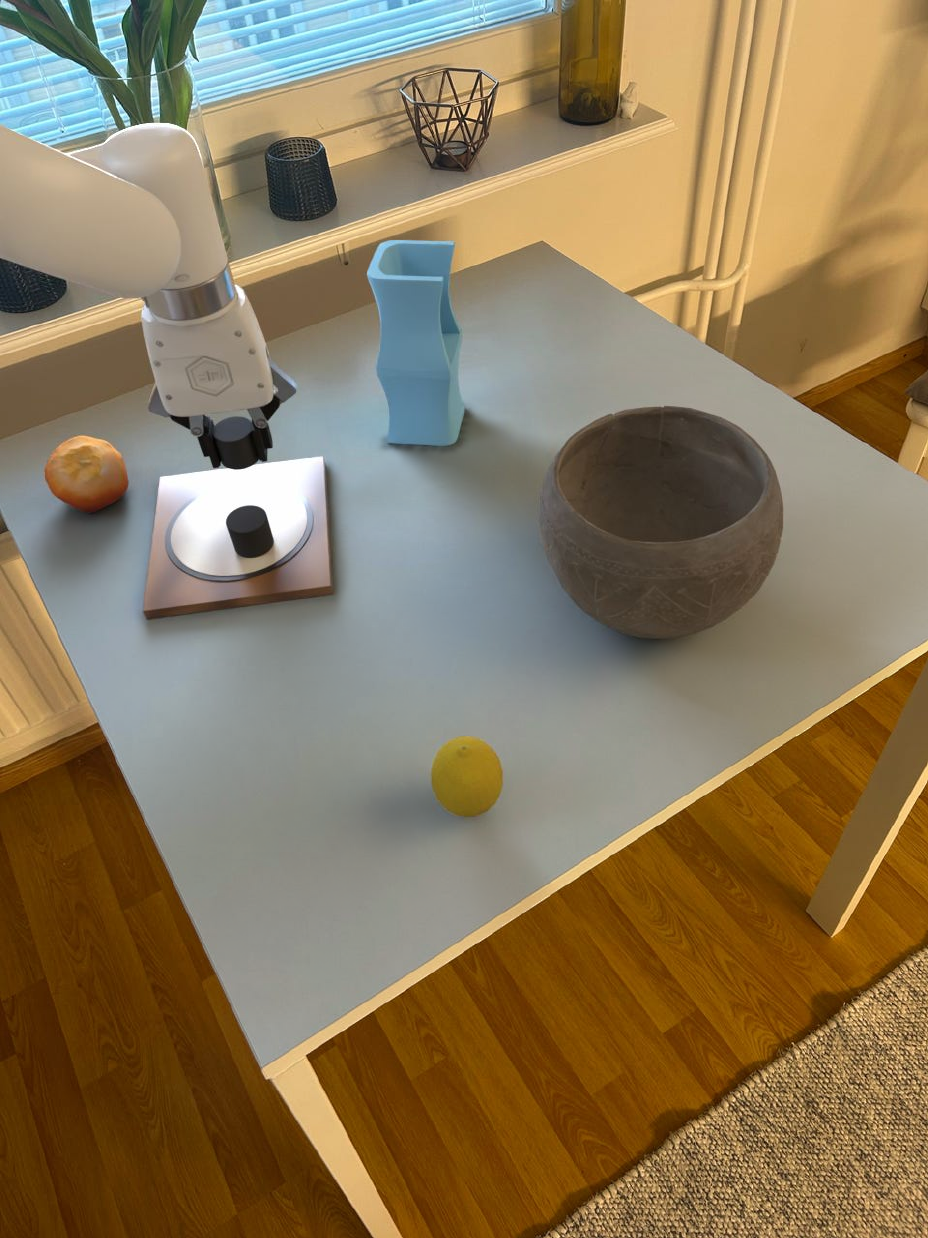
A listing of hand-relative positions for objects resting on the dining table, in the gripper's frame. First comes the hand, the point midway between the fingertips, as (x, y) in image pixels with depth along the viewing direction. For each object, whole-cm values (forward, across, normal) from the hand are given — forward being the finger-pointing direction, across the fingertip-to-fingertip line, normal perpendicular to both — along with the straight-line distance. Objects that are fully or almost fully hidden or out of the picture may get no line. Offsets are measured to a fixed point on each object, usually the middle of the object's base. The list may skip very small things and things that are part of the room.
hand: (240, 454), depth 93 cm
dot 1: (0, 0, 0) cm, 0 cm away
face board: (+8, -2, -3) cm, 9 cm away
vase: (+8, +19, +12) cm, 24 cm away
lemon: (+8, +17, -38) cm, 43 cm away
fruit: (+8, -18, +6) cm, 20 cm away
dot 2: (+7, 0, -6) cm, 9 cm away
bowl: (+8, +37, -18) cm, 42 cm away
